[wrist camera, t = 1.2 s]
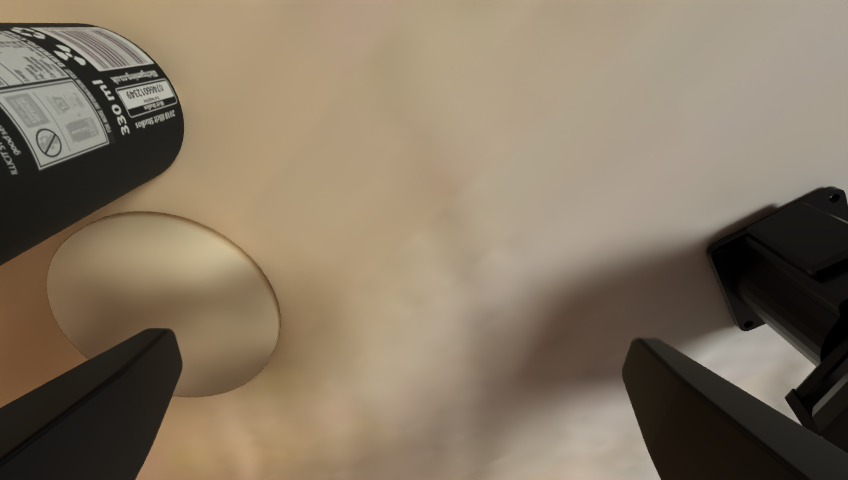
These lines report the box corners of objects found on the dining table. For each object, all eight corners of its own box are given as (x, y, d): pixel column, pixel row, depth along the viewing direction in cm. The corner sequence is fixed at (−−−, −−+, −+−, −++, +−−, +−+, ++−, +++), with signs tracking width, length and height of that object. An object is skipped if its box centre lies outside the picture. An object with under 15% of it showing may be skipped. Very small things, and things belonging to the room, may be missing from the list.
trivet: (323, 331, 25) (320, 341, 24) (181, 413, 28) (174, 423, 27) (161, 166, 20) (152, 171, 19) (11, 284, 23) (-2, 293, 22)
